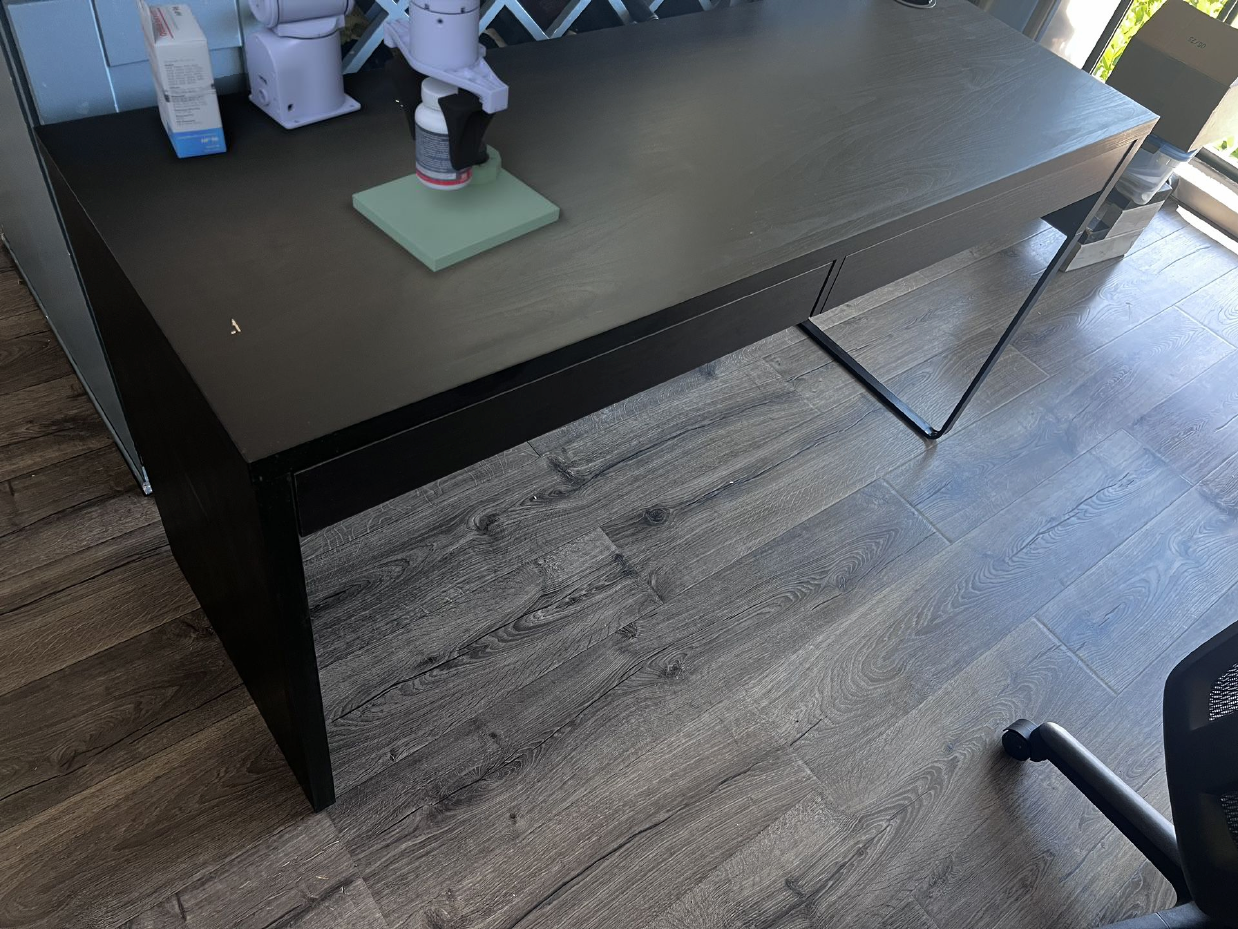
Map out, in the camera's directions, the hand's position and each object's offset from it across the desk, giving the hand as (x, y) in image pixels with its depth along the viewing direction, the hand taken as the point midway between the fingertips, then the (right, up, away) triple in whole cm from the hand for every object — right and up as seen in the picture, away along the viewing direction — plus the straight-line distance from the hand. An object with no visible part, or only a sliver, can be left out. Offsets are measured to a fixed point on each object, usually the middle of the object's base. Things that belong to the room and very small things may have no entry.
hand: (443, 152), depth 86 cm
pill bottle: (0, -2, +2) cm, 3 cm away
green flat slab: (0, -3, +9) cm, 10 cm away
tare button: (+1, +3, +12) cm, 12 cm away
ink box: (-28, +6, +12) cm, 31 cm away
